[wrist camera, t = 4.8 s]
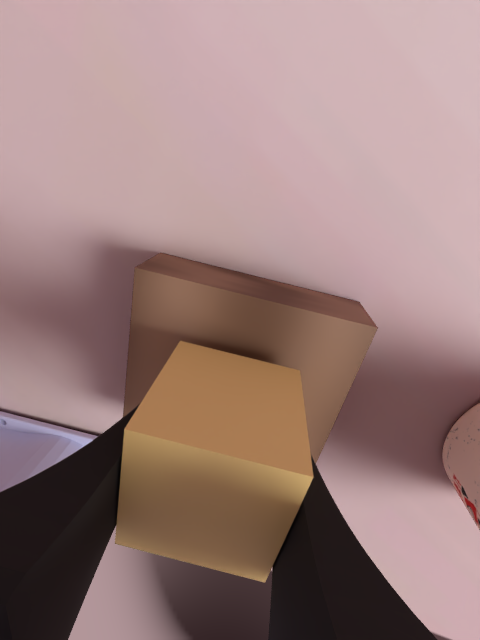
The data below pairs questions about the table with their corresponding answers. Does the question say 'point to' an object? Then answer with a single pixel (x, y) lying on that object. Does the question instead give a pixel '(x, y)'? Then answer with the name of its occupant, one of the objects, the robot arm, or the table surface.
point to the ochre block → (215, 462)
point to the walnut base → (247, 331)
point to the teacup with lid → (465, 460)
